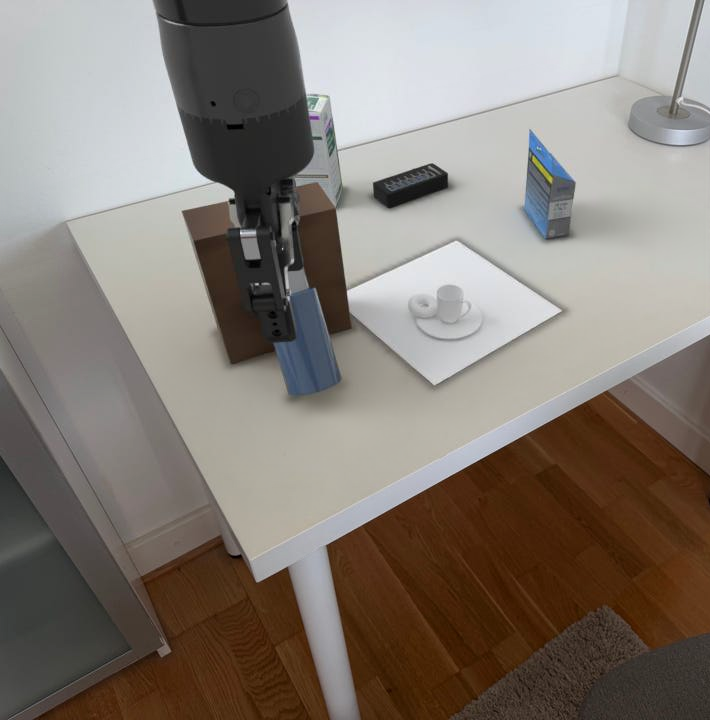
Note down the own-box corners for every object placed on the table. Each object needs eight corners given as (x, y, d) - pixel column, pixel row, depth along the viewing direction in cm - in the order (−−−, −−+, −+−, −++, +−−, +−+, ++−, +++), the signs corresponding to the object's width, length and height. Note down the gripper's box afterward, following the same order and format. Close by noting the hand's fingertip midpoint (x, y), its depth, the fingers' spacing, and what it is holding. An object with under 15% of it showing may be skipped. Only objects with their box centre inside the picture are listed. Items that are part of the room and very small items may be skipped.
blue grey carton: (570, 236, 96) (581, 153, 88) (544, 240, 95) (553, 157, 87) (546, 204, 102) (554, 124, 94) (522, 208, 101) (528, 127, 93)
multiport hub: (372, 196, 103) (371, 182, 101) (432, 175, 108) (432, 162, 106) (388, 208, 100) (387, 194, 99) (449, 187, 105) (449, 173, 104)
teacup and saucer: (398, 313, 83) (396, 286, 80) (449, 288, 87) (449, 261, 84) (444, 351, 78) (444, 323, 75) (496, 322, 82) (498, 295, 79)
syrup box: (336, 208, 100) (323, 111, 90) (296, 207, 100) (278, 109, 90) (343, 189, 104) (331, 93, 94) (304, 187, 104) (288, 92, 94)
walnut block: (230, 364, 75) (193, 240, 65) (218, 332, 79) (181, 210, 68) (351, 328, 80) (336, 208, 70) (335, 300, 84) (317, 181, 73)
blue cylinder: (297, 419, 70) (272, 310, 60) (268, 353, 77) (242, 246, 67) (350, 401, 72) (333, 293, 62) (317, 339, 79) (298, 233, 69)
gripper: (195, 47, 46) (246, 251, 57) (148, 143, 35) (221, 370, 46) (310, 44, 46) (338, 247, 58) (297, 138, 36) (334, 362, 47)
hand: (286, 302), depth 52 cm, fingers open, 8 cm apart
